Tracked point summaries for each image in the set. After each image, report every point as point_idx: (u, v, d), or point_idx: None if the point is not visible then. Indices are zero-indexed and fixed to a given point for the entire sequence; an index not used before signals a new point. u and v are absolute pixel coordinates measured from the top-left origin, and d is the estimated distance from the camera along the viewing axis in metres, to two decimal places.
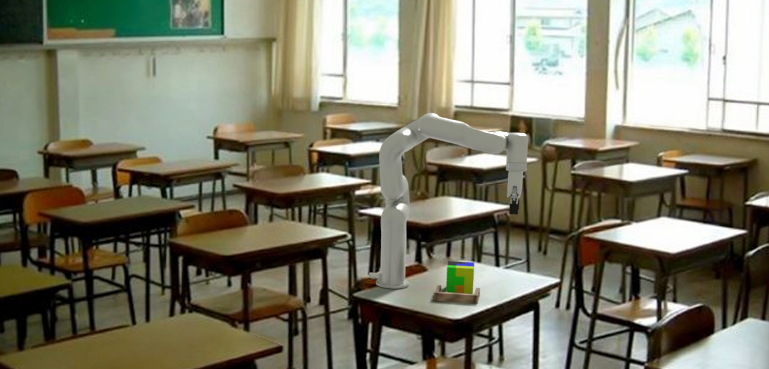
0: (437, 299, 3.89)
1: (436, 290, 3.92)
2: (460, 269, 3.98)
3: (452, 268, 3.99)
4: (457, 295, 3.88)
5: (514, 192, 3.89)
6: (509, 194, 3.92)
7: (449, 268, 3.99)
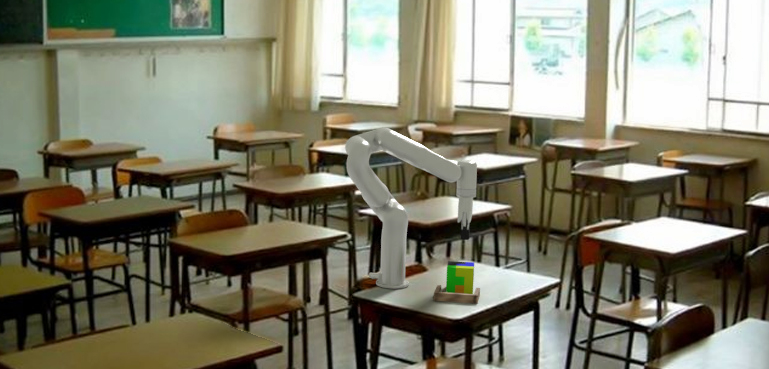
0: (437, 299, 3.89)
1: (436, 290, 3.92)
2: (460, 269, 3.98)
3: (452, 268, 3.99)
4: (457, 295, 3.88)
5: (464, 223, 4.06)
6: (459, 219, 4.07)
7: (449, 268, 3.99)
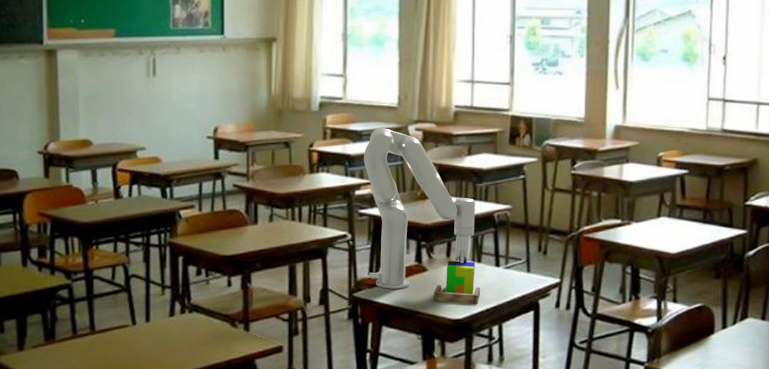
0: (437, 299, 3.89)
1: (436, 290, 3.92)
2: (460, 269, 3.98)
3: (452, 268, 3.98)
4: (457, 295, 3.88)
5: (462, 262, 4.06)
6: (457, 258, 4.06)
7: (449, 268, 3.98)
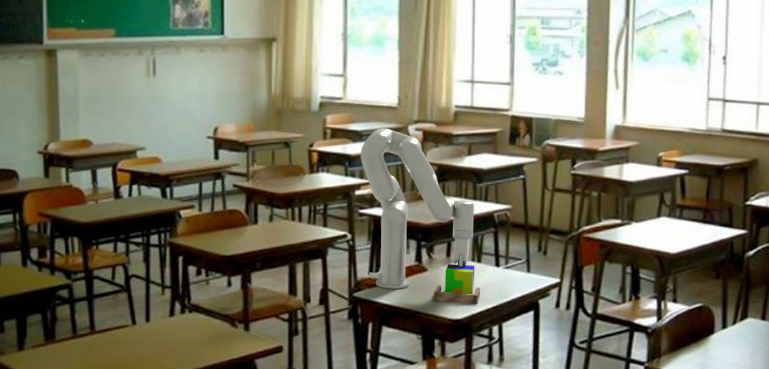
0: (437, 299, 3.89)
1: (436, 290, 3.92)
2: (459, 272, 3.93)
3: (451, 271, 3.93)
4: (457, 295, 3.88)
5: (460, 265, 4.00)
6: (456, 261, 4.01)
7: (448, 271, 3.93)
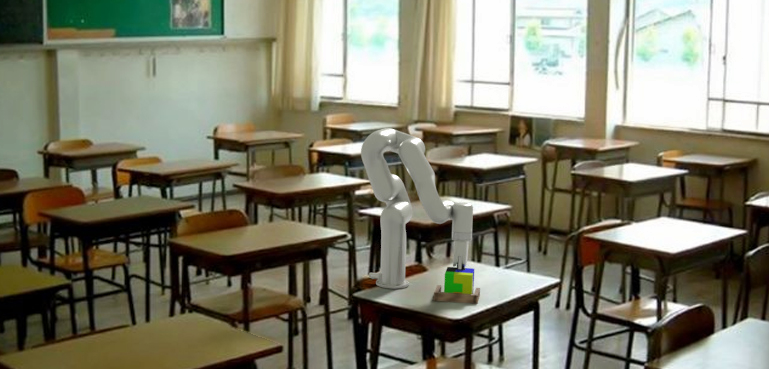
0: (437, 299, 3.89)
1: (436, 290, 3.92)
2: (458, 276, 3.88)
3: (450, 274, 3.88)
4: (457, 295, 3.88)
5: (459, 268, 3.96)
6: (455, 264, 3.96)
7: (447, 274, 3.89)
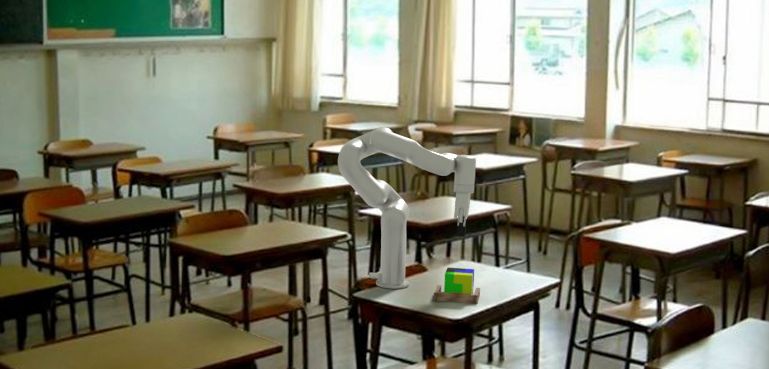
0: (437, 299, 3.89)
1: (436, 290, 3.92)
2: (458, 276, 3.88)
3: (450, 275, 3.89)
4: (457, 295, 3.88)
5: (460, 220, 3.97)
6: (456, 215, 3.97)
7: (447, 275, 3.89)
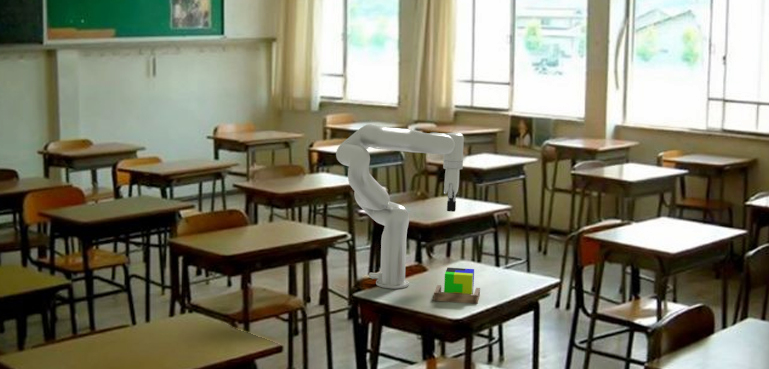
0: (437, 299, 3.89)
1: (436, 290, 3.92)
2: (458, 276, 3.88)
3: (450, 275, 3.89)
4: (457, 295, 3.88)
5: (450, 195, 4.12)
6: (446, 191, 4.12)
7: (447, 275, 3.89)
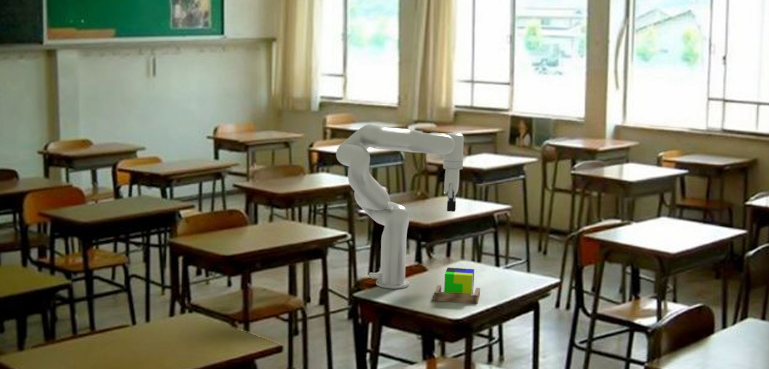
0: (437, 299, 3.89)
1: (436, 290, 3.92)
2: (458, 276, 3.88)
3: (450, 275, 3.89)
4: (457, 295, 3.88)
5: (450, 195, 4.12)
6: (446, 191, 4.12)
7: (447, 275, 3.89)
